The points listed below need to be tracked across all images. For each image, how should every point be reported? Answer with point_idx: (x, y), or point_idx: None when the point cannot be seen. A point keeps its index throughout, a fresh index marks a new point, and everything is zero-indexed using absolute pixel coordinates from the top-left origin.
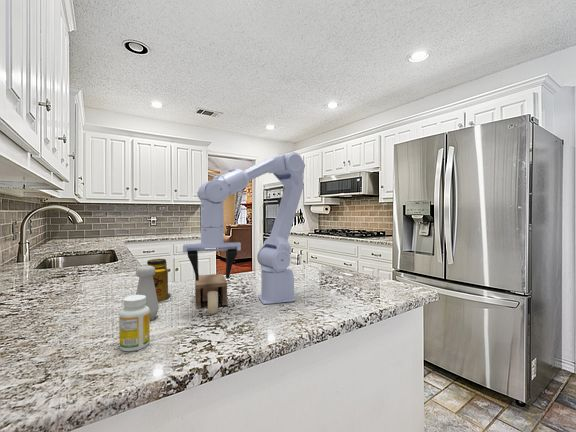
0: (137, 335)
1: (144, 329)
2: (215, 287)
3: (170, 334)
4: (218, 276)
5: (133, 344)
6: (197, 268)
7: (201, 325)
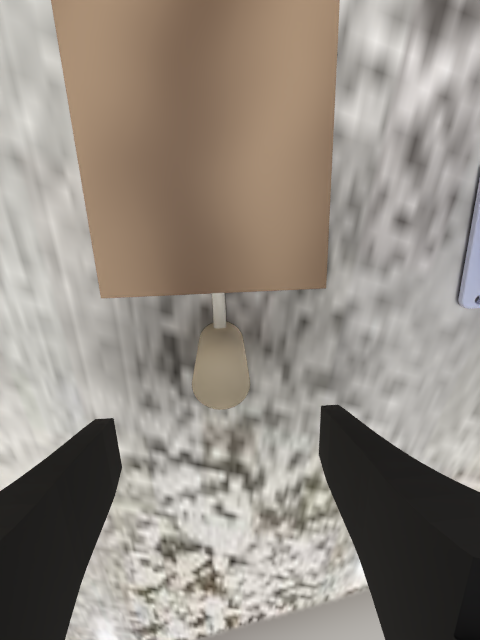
0: None
1: None
2: None
3: None
4: (286, 5)
5: None
6: (80, 575)
7: (180, 455)
